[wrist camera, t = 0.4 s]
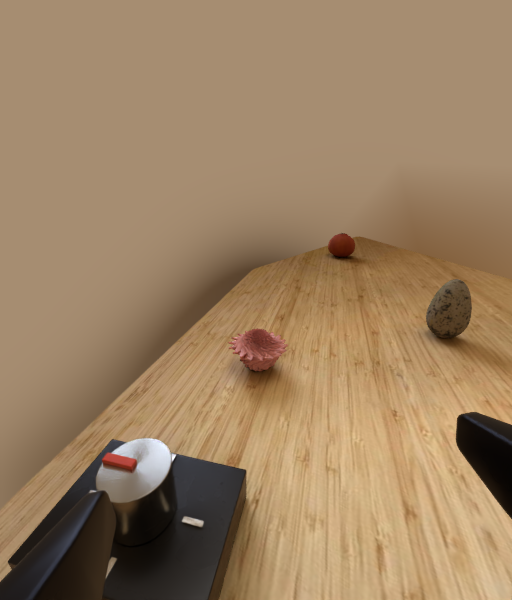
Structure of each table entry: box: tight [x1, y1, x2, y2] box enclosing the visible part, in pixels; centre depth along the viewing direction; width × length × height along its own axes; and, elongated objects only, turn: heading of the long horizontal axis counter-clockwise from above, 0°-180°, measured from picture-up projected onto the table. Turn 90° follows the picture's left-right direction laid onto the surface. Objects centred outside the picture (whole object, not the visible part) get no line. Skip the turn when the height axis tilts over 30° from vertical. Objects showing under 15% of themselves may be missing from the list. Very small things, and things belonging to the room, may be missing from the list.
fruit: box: [328, 233, 355, 257], centre depth 100 cm, size 9×9×8 cm
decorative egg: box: [426, 279, 472, 338], centre depth 47 cm, size 6×6×10 cm
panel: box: [8, 439, 246, 600], centre depth 20 cm, size 12×9×3 cm
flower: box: [229, 329, 288, 372], centre depth 39 cm, size 8×8×6 cm
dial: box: [96, 438, 177, 546], centre depth 19 cm, size 4×4×4 cm
